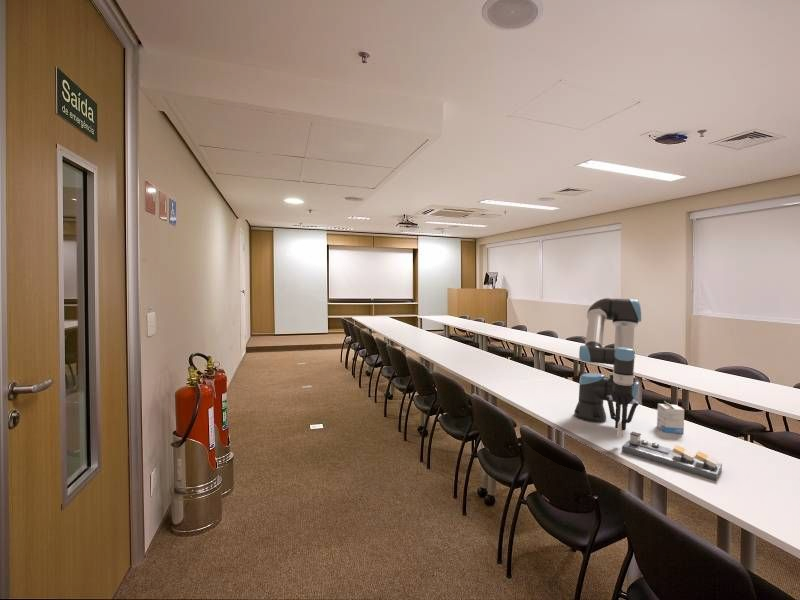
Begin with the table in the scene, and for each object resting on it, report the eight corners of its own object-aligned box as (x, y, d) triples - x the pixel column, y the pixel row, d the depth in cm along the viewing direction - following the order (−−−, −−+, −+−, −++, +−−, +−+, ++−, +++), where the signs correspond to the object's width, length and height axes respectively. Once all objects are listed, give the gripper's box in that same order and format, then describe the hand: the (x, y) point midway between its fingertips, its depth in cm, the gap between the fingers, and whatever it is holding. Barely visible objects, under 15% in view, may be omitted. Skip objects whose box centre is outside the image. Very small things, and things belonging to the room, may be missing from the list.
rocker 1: (672, 451, 151) (673, 448, 151) (675, 447, 155) (676, 444, 155) (691, 461, 147) (692, 458, 147) (694, 457, 151) (695, 453, 151)
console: (621, 451, 161) (622, 443, 161) (631, 443, 170) (631, 435, 170) (716, 481, 139) (717, 471, 139) (721, 469, 148) (722, 460, 148)
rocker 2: (694, 458, 146) (695, 454, 146) (697, 453, 150) (698, 450, 150) (714, 468, 142) (716, 464, 142) (717, 463, 146) (718, 460, 145)
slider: (629, 442, 164) (630, 433, 163) (631, 440, 166) (632, 431, 165) (638, 445, 161) (638, 435, 161) (640, 443, 163) (640, 433, 163)
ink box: (683, 434, 183) (685, 406, 182) (664, 432, 184) (666, 405, 184) (674, 427, 191) (676, 401, 190) (656, 425, 193) (657, 399, 192)
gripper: (603, 381, 169) (600, 434, 170) (637, 388, 159) (634, 443, 160) (609, 379, 174) (607, 430, 175) (642, 385, 164) (639, 439, 165)
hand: (619, 436), depth 167 cm, fingers closed
